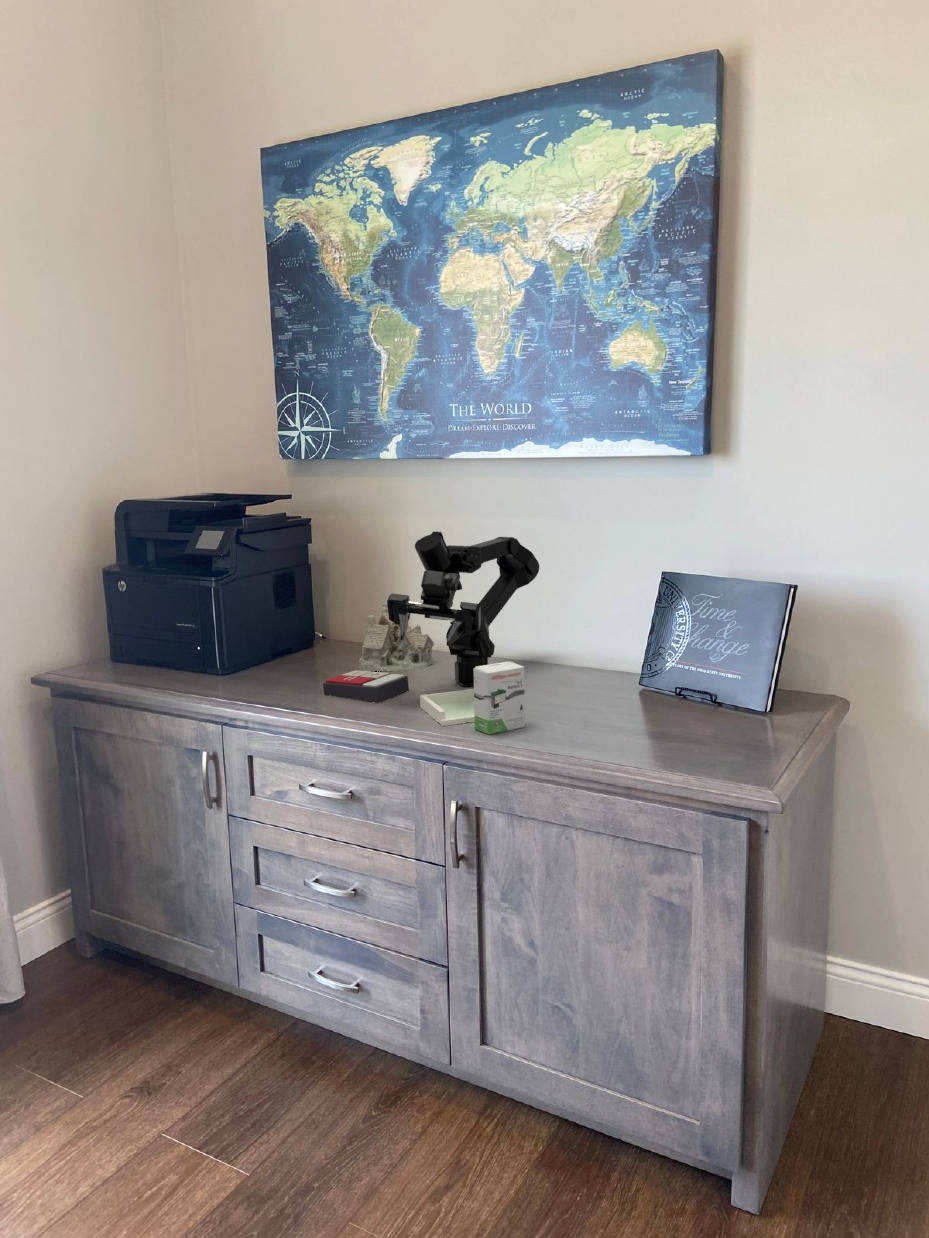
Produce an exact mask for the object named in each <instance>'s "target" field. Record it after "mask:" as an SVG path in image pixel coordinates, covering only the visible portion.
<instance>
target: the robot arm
mask: <svg viewBox="0 0 929 1238" xmlns="http://www.w3.org/2000/svg"><path fill="white" fill-rule="evenodd" d="M414 549H415V551H416V553H417V556H418V558H419V559H420V562H421V564H422V566H423V568H424V571H423V576H422V579H421V583H420V586H421V589H422V590H421V593H420V601H422V602H415V601H411V600H410V595H408V594H399V593H390V595H388V597H387V599H386V603H387V606H388V615H389V620H390V621H391V622H394V623H395V624H396V625H399V627H400V636H401V640H403V639H404V637H405V635H406V631H407V628H408V626H410V625H409V621H410V619H411V614H413V615H420V616H421V615H422V616H424V618H425V619H432V620H440V621H450V625H449V627H448V629H447V632H446V637H445V639H446V646H447V647H448V650H449V654H450V655H451V656H456V661H455V662H454V681H455V682H456V683H458V684H459V685H461V686H463V687H472V686H473V687H474V670H473V669H474V668H476V667H477V666H483V665H489V663H488V660H489V658H491V657H492V656H494V653H495V647H496V646H495V644H494V642H493V641H492V639H491V637H490V628H489V627H490V626H491V624H492V623H493V621H494V620H496V618H497V616H498V615H499V614H500V612H501V611H502V610H503V608H504V607H505V606H506V605H507V603H508V602H509V600H510V599H511V598H512V596H513V595H514V594H515V592H517V590H518V589H519V588H523V587H525V586H527V585H529V584H530V583H532V582H533V580H535V579H536V577H537V575H538V574H539V572H540V563H539V561H538V559H537V557H536V556H535V555H534V553H533V552H532V551H531V550H529V549H528V548H526V547H525V546H523V545H522V544H521V543H520V542H519V540H518V538H516V537H512V536H498V537H494V538H493V539H490V540H486V541H483V542H480V543H479V542H478V543H476V544H471V545H456V544H455V545H451V544H450V545H447V544H446V541H445V538H444V535H443V533H442V531H432V532H431V534H427V535H426V536H423V537H421V538H420V539H418V540H416V542H415V544H414ZM492 560H496V564H497V566H498V569H499V577H498V578H497V579H496V580H495V582H493V584H492V586H491V587H490V588H489V589H488V591H487V592H486V593H485V594H484V596H482V599H481V600H480V601H479V602H478V603H474V602H466V601H460V604H459V608H460V609H456V608H452V607H453V605H454V603H453V601H454V599H455V594H456V592H457V591H461V590H463V585H462V582H461V575H460V573H462V574H473V573H474V572H476V571H478V570H479V569H481V568H482V565H483V564H484V563H487V562H490V561H492Z"/></svg>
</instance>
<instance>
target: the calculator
mask: <svg viewBox="0 0 929 1238" xmlns="http://www.w3.org/2000/svg"><path fill="white" fill-rule="evenodd" d="M322 685H323V695H325V696H329V695H331V697H335V696H336V697H335V698H344V699H348V698H351V699H350V700H357V699H358V701H362V702H365V701H366V703H371V702H375V703H374V704H380V703H379V702H381V703H383V702H386V701H388V700H390V699H389V698H391V699H394V698H395V696H396V697H398V696H397V695H399V696H401V695H403V693H404V694H406V693H408V692H407V691H409V692H410V689H409V688H410V687H409V677H408V676H407V675H406V674H397V673H390V672H378V671H377V672H371V671H361V670H359V669H357V670H356V669H355V670H352V671H349V672H346V673H343V674H341V675H337V676H334V677H331V678H327V679H326V680H325V682H323V683H322ZM405 692H406V693H405ZM387 699H388V700H387ZM385 700H386V701H385Z"/></svg>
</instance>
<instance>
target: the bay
mask: <svg viewBox="0 0 929 1238" xmlns="http://www.w3.org/2000/svg"><path fill="white" fill-rule="evenodd" d="M419 706H420V707H421V710H423V711H424V712H425V713H426V712H427V713H428V714H427V713H426V714H427V715H429V716H430V717H431V718H432V719H433V720H434V719H435V722H437V723H438V722H439V723H440V724H441V725H440V724H439V723H438V724H439V725H440V726H441V727H445V726H446V727H447V726H454V725H460V724H461V723H462V724H467V723H466V722H470V723H475V715H474V688H469V689H462V690H454V691H446V692H445V691H444V692H443V691H442V692H436V693H430V694H429V693H428V694H421V695H420V694H419ZM462 724H461V725H462Z"/></svg>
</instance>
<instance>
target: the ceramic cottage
mask: <svg viewBox="0 0 929 1238" xmlns="http://www.w3.org/2000/svg"><path fill="white" fill-rule="evenodd" d="M375 618H376V617H375V615H374V614H371V615H368V616H366V624H365V636H364V641H363V644H362V646H361V647H362V649H361V650H362V651H361V657H360V658H359V660H358V665H357V666H358V667H357V670H358V671H377V672H378V671H379V672H380V671H387V672H398V671H397V670H399V671H408V670H407V669H411V670H416V669H415V668H420V669H423V668H422V667H425V668H427V667H429V666H430V665H431V664H432V665H434V664H435V663H434V658H433V656H432V654H433V653H432V652H433V647H434V646H435V645H434V644H435V642H434V641H433V640H432V638H431V637H430V636H429V634H426V633H425V634H423V633H422V629H421V624H415V626H413V627H412V626H411V625H408V628H407V631H406V635H405V637H404V639H403V640H401V636H400V627H399V625H396V624H395V623H394V622H391V621H390V620H389V615H388V606H387V602H383V603H382V607H381V617H380V618H379V621H378V623H376V619H375Z"/></svg>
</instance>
